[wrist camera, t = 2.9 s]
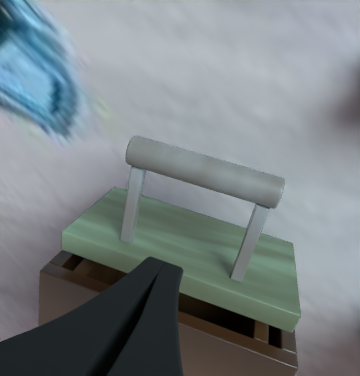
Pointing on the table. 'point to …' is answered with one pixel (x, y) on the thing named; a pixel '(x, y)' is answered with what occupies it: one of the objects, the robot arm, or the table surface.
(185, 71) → the table surface
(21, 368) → the robot arm
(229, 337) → the cabinet
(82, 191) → the table surface
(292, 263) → the drawer
